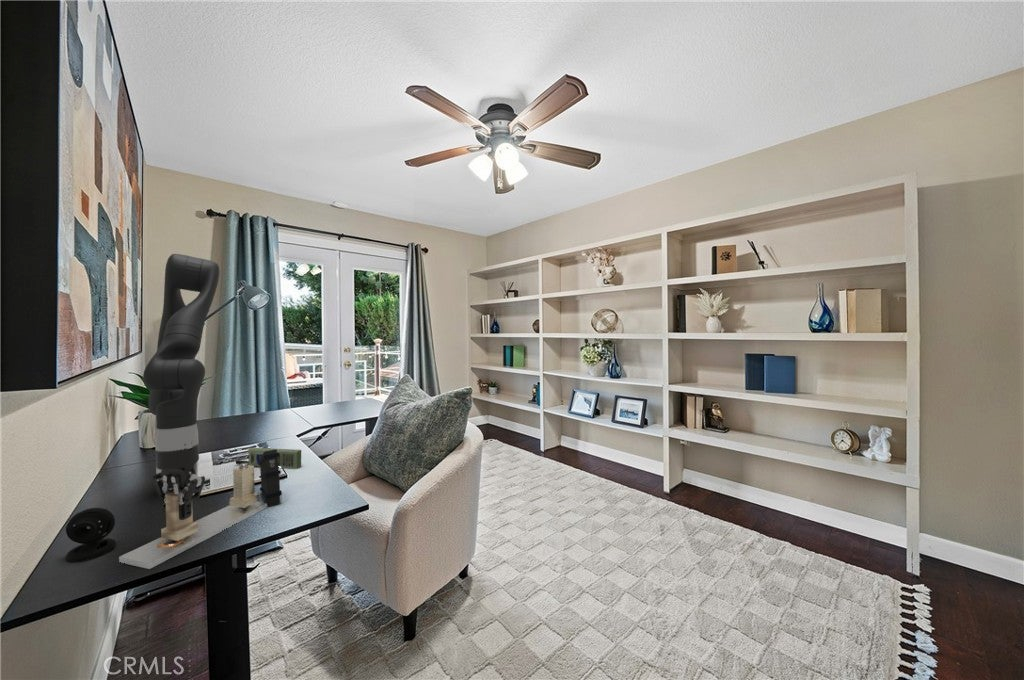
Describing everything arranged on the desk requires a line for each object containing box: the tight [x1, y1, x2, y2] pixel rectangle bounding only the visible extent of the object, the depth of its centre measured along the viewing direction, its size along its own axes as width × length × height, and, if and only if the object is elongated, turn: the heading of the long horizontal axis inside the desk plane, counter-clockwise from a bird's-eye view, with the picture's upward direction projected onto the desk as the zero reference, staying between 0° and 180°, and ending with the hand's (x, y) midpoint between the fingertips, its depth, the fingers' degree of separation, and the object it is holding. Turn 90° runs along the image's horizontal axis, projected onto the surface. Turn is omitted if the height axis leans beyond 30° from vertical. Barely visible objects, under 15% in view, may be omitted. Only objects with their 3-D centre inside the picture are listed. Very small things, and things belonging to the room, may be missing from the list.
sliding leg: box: [160, 488, 198, 541], centre depth 88 cm, size 5×4×12 cm
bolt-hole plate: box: [118, 463, 268, 570], centre depth 93 cm, size 9×28×13 cm, turn 165°
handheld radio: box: [235, 447, 302, 470], centre depth 137 cm, size 7×3×25 cm
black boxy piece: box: [258, 448, 283, 508], centre depth 111 cm, size 4×13×15 cm, turn 42°
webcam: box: [65, 507, 117, 563], centre depth 84 cm, size 8×8×10 cm
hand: (179, 516), depth 88 cm, fingers closed on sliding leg, 3 cm apart
